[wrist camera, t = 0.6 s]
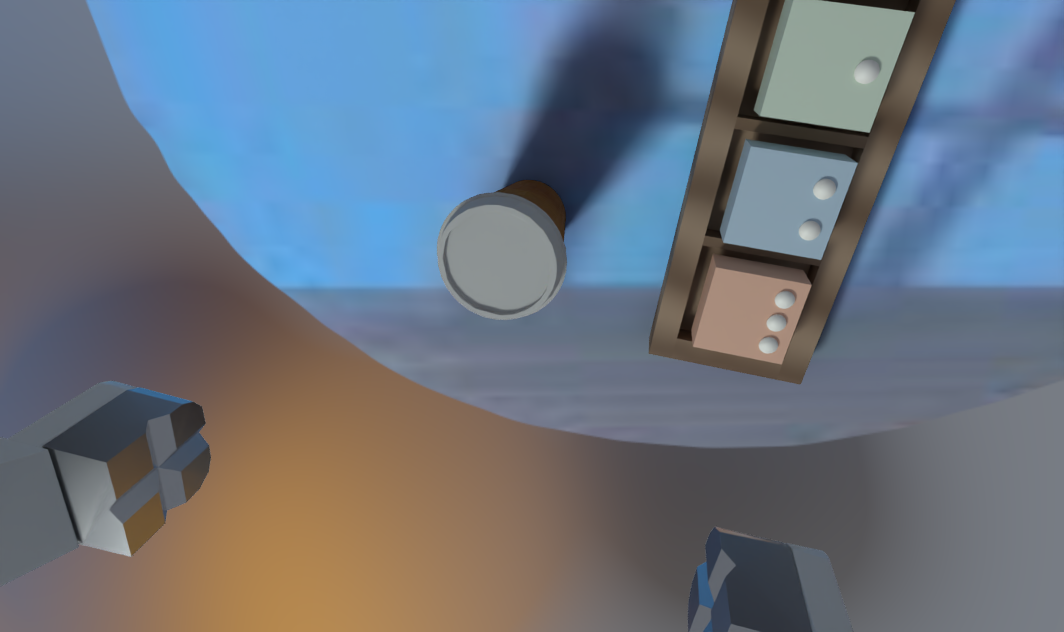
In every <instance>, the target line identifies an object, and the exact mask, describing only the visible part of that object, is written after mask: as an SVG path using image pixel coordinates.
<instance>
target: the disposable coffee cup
mask: <svg viewBox="0 0 1064 632" xmlns="http://www.w3.org/2000/svg"><path fill="white" fill-rule="evenodd" d="M565 221H566V213H565V208H564V205H563V203H562V201H561V198H560V197H559V196H558V194H557V193H556V192H555V191H554V190H553V189H552V188H551V187H549V186H548V185H546V184H544V183H542V182H539V181H534V180H523V181H518V182H516V183H513V184H511V185H509V186H507V187H505V188H503V189H501V190H498V191H496V192H494V193H484V194H479V195H476V196H474V197H471V198H469V199H467V200H465V201H463V202H462V203H461V204H459V205H458V206H457V207H455V208H454V209H453V211H452V212H451V213H450V214H449V215H448V216H447V218H446V219H445V221H444V223H443V225H442V227H441V229H440V233H439V237H438V242H437V256H438V266H439V270H440V274H441V277H442V279H443V281H444V283H445V285H446V287H447V289H448V290H449V292H450V293H451V294H452V296H453V297H454V298H455V299H456V300H457V301H458V302H459V303H460V304H462V305H463V306H464V307H466V308H467V309H468V310H470V311H472V312H474V313H476V314H478V315H481V316H483V317H486V318H491V319H497V320H508V319H516V318H520V317H523V316H527V315H530V314H532V313H535V312H537V311H538V310H540V309H542V308H543V307H545V306H546V305H547V304H548V303H549V302H550V301H551V300H552V299H553V298H554V297H555V295H556V294H557V292H558V291H559V290H560V287H561V285H562V283H563V281H564V277H565V273H566V266H567V258H566V247H565V245H564V232H565Z"/></svg>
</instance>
